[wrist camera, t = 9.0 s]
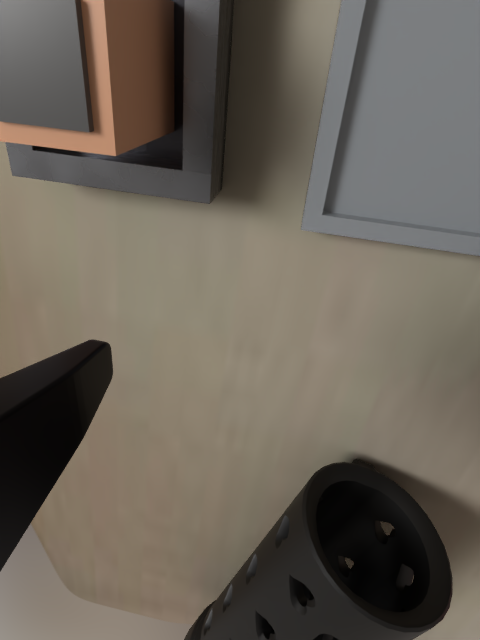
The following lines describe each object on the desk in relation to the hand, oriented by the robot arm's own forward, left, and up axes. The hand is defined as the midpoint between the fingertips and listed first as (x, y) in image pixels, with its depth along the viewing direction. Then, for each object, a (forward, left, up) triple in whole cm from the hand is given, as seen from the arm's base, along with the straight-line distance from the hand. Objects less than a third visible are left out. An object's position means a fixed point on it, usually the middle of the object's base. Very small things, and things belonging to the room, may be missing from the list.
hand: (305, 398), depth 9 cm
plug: (+9, -5, -12) cm, 16 cm away
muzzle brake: (-3, +29, -13) cm, 32 cm away
